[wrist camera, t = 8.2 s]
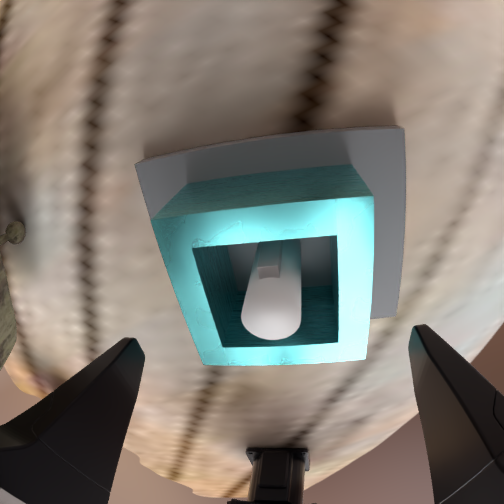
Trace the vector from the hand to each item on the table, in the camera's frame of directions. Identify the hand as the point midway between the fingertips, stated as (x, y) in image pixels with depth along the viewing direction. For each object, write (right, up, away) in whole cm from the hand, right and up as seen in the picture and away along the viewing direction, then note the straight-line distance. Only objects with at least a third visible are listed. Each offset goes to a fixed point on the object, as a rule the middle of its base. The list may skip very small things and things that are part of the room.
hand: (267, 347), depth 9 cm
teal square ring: (+1, +3, +5) cm, 6 cm away
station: (+1, +4, +6) cm, 7 cm away
